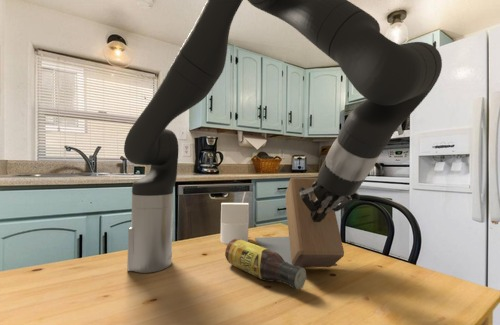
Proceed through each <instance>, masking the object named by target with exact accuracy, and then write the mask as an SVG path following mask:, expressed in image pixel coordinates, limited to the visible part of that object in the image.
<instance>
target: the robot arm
mask: <svg viewBox="0 0 500 325" xmlns="http://www.w3.org/2000/svg"><path fill="white" fill-rule="evenodd" d="M243 1H244V0H206V3H205V4H204V6H203V8H202V10H201V11H200V13H199V16H198V18H197V19H196V21H195V23H194V25H193V27H192V29H191V30H190V32H189V34H188V36H187V37H186V39H185V40H184V42H183V44H182V46H181V47H180V49H179V50H178V52H177V53H176V56H175V58H174V60H173V61H172V63H171V64H170V67H169V69H168V70H167V71H166V74H165V76H164V78H163V79H162V81H161V83H160V85H159V87H158V89H157V90H156V91H155V93H154V94H153V96H152V98H151V100H150V101H149V102H148V104H147V105H146V107H145V108H144V110H143V111H142V112H141V113H140V115H139V116H138V117H137V119H136V121H135V122H134V123H133V125H132V126H131V128H130V129H129V131H128V133H127V135H126V137H125V140H124V146H123V153H124V157H125V158H126V160H127V161H128V162H130V163H131V164H135V165H140V166H150V168H149V169H150V170H149V172H148V173H147V174H146V175H144V176H143V177H141V178H139V179H137V180H135V181H134V182H133V183H132V185H131V186H132V187H131V222H130V223H131V224H130V225H131V226H129V228H128V231H127V261H126V262H127V265H126V266H127V269H126V270H127V272H134V273H135V272H136V273H142V274H147V273H149V274H150V273H155V272H159V271H162V270H165V269H167V268H168V267H170V266H171V265H172V259H173V223H174V222H173V221H174V219H173V218H174V216H173V213H174V211H173V210H174V187H175V184H176V181H177V177H178V163H179V142H178V141H179V140H178V138H177V136H176V133H175V132H173V131H172V130H170V129H167V127H168V126H169V125H170V123H172V121H173V120H175V119H176V118H177V117H179V116H180V115H182V114H183V113H185V112H187V111H189V110H190V109H192V108H193V107H194V106H196V105H198V104H199V103H200V102H202V101H203V100H204V99H205V98H206V97H207V96H208V95H209V94H210V92H211V91H212V89H213V87H214V86H215V85H216V83H217V82H218V80H219V78H220V77H221V75H222V73H223V72H224V68H225V65H226V61H227V54H228V46H229V45H228V44H229V38H230V37H229V34H230V31H231V30H230V29H231V26H232V23H233V20H234V17H236V16H235V15H236V13H237V12H238V10H239V8H240V6H241V5H242V2H243ZM247 2H248V3H250V5H252V6H253V7H254V8H256V9H258V10H260V11H263V12H265V13H267V14H269V15H272V16H273V17H275V18H278V19H279V20H281V21H283V22H285V23H287V24H288V25H290V26H292V27H293V28H294V29H295V30H296V31H297V32H298V33H300V34H301V35H302V36H304V38H306V39H307V40H308V41H310V43H312V44H313V45H314V46H315V47H316V48H317V49H318V50H320V51H321V52H322V53H323V54H325V55H326V56H327V57H329V58H330V59H331V60H332V61H334V62H336V63H337V64H338V66H339V67H340V69H341V71H342V72H343V74H344V75H345V76H346V78H347V80H348V81H349V82H350V84H351V85H352V87H354V89H355V90H356V91H357V92H358V94H360V95H361V96H362V97H363V98H365V100H364V101H363V102H362V103H360V104H359V105H357V106H356V107H355V108H353V109H352V110H351V111H350V112H349V114H348V115H347V117H346V119H345V121H344V122H343V125H342V127H341V129H340V132H339V134H338V135H337V137H336V138H335V140H334V141H333V143H332V145H331V147H330V148H329V149H328V152H327V154H326V156H325V158H324V160H323V162H322V165H321V167H320V168H319V171H318V174H317V177H316V178H317V180H316V181H315V182H314V183H313V184H312V187H311V188H308V189H306V190H305V188H300V189H299V192H300V195H301V198H302V201H303V202H304V203H305V205H306V206H307V207H308V209H309V210H310V211H311V213H310V215H311V218H312V220H313V221H314V222H321V220H323V219H324V218H325V216H326V215H327V213H330V212H331V210H334V211H335V213H336V212H339V211H341V210H343V209H344V208H346V207H348V206H350V205H352V204H353V203H356V202H358V201H359V200H360V199H361V196H360V194H359V193H358V190H359V189H360V187H361V186H362V184H363V183H364V182H365V181H366V178H367V177H368V176H369V174H370V173H371V171H372V170H373V168H374V167H375V165H376V163H377V160H378V159H379V156H380V155H381V154H382V152H383V151H384V150H385V148H386V146H387V145H388V144H389V142H390V141H391V139H392V137H393V135H394V134H395V132H396V131H397V130H398V129H399V127H400V126H401V125H402V124H403V123H404V122H405V121H406V120H407V119H408V118H409V117H410V116H411V115H412V113H413V112H414V111H415V110H416V109H417V108H418V106H420V104H422V102H423V100H425V98H426V97H427V96H428V95H429V93H430V92H431V91H432V89H433V88H434V86H435V85H436V83H437V81H438V80H439V77H440V76H441V73H442V67H443V59H442V55H441V53H440V52H439V50H438V49H437V48H436V47H435V45H432V44H430V43H427V42H424V41H413V42H406V43H397V42H394V40H393V41H392V40H391V39H390V38H388V37H387V36H386V35H384V34H383V33H381V27H380V24H379V22H378V20H377V18H375V17H373V16H372V14H370V13H369V12H367V11H365V10H363V9H362V8H360V7H359V6H357V5H356V4H355V3H352V2H351V1H349V0H247ZM313 194H315V196H316V199H315V201H313V200H312V197H313V196H312V195H313Z"/></svg>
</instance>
